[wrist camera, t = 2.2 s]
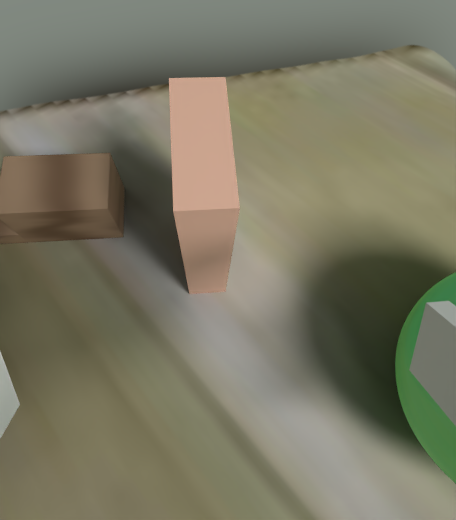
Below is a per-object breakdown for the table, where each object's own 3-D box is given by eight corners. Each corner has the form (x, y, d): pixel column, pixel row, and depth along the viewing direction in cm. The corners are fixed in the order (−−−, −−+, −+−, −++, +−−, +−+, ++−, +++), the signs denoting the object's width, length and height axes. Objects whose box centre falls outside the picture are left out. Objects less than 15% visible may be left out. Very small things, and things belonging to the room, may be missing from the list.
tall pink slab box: (189, 294, 28) (173, 211, 15) (185, 209, 31) (168, 78, 18) (225, 291, 29) (239, 208, 16) (218, 207, 31) (225, 77, 18)
